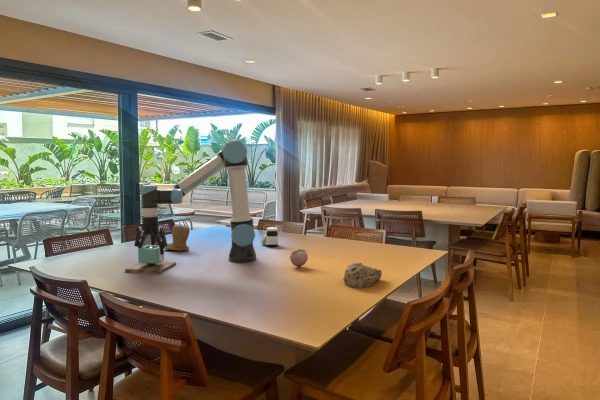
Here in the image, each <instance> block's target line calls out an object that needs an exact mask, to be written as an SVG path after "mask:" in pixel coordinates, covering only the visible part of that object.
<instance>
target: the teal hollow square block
mask: <svg viewBox="0 0 600 400" xmlns="http://www.w3.org/2000/svg"><path fill="white" fill-rule="evenodd" d="M149 247H154V249H150V248H149ZM159 248H160V247H159V246H153V245H146V246H144V247H141V248H139V249H137V253H138V254H137V255H138V256H137V257H138V258H137V259H138V261H137V262H138V263H157V262H159V255H158V249H159ZM164 260H165V253H164V254H163V255H162V261H164ZM138 263H137V264H138Z"/></svg>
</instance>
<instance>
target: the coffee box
mask: <svg viewBox="0 0 600 400" xmlns="http://www.w3.org/2000/svg"><path fill="white" fill-rule="evenodd" d="M157 232H158V234H159V237H160V239H161V235H160V231H159V229H158V231H157ZM143 233H144V231H141V237H142V236H143ZM146 245H153V246H159V245H158V243H157V241H156V239H155V237H154V236H153V235H150V234H149V235H147V237H146V239H145V242H144V244H143V247H144V246H146Z"/></svg>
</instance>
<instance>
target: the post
mask: <svg viewBox="0 0 600 400" xmlns="http://www.w3.org/2000/svg"><path fill="white" fill-rule="evenodd" d="M149 248H150V249H154V247H149ZM155 265H156V263H147V266H155Z"/></svg>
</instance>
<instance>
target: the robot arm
mask: <svg viewBox="0 0 600 400" xmlns="http://www.w3.org/2000/svg"><path fill="white" fill-rule="evenodd" d="M247 149H248V148H247V146H246V144H245V142H242V141H241V140H238V139H230V140H228V141H226V142H225V143H224V145H223V148H222V149H221V150H220V151H218V152H216V156H214V157H213V158H211V159H210V160H208V161H207V162H206V163H205V164H203V165H201V166H200V167H199V168H197V169H196V170H195V171H194V170H193V172H191V173H190V174H188V175H187V176H186V177H184V178H182V180H180V181H178V182H177V183H176V184H175V185H173V186H172V187H170V188H158V185H156V184H146V185H145V184H144V185H142V186H141V194H140V197H141V216H142V217H141V221H142V223H141V225H142V226H138V227H136V236H135V239H134V247H137V248H138V249H139V248H141V247H143V244H144V242H145V239H146V237H147V235H149V234H150V235H153V236H154V237H155V239H156V241H157V243H158V245H159V247H160V248H159V249H158V255H159V262H160V261H163V260H162V255H163V254H164V255H165V249H164V247H166V246H167V244H168V242H167V241H168V240H167V237H166V234H165V227H164V226H162V227H161V226H159V217H158V215H159V209H158V208H159V205H181V204H182V203H183V201H184V199H183V198H184V197H186V195H188V194H189V193H191V192H192V191H194V190H195V189H197V188H198V187H199V186H201V185H202V184H204V183H205V182H207V181H208V180H209V179H211V178H212V177H213V176H215V175H217V174H218V173H219V172H221V171H222V170H224V169H226V170H227V172H228V173H227V174H228V182H229V183H228V184H229V192H230V201H231V203H230V204H231V212H232V218H231V219H230V222H229V223H230V231H231V234H230V235H231V247H230V250H229V253H228V261H230V262H234V263H246V262H247V263H248V262H254V261H256V260H257V254H256V250H255V247H254V240H255V237H256V232H255V229H254V228H255V225H254V218H253V217H252V216H251V215H250V207H249V197H248V196H249V195H248V187H247V177H246V168H247V167H248V166H249V165H248V157H247V156H248V154H247V153H248V150H247ZM158 230H159V231H160V235H161V239H160V237H159V234H158V232H157V231H158ZM142 232H144V233H143V236H142ZM138 249H137V250H138Z"/></svg>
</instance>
